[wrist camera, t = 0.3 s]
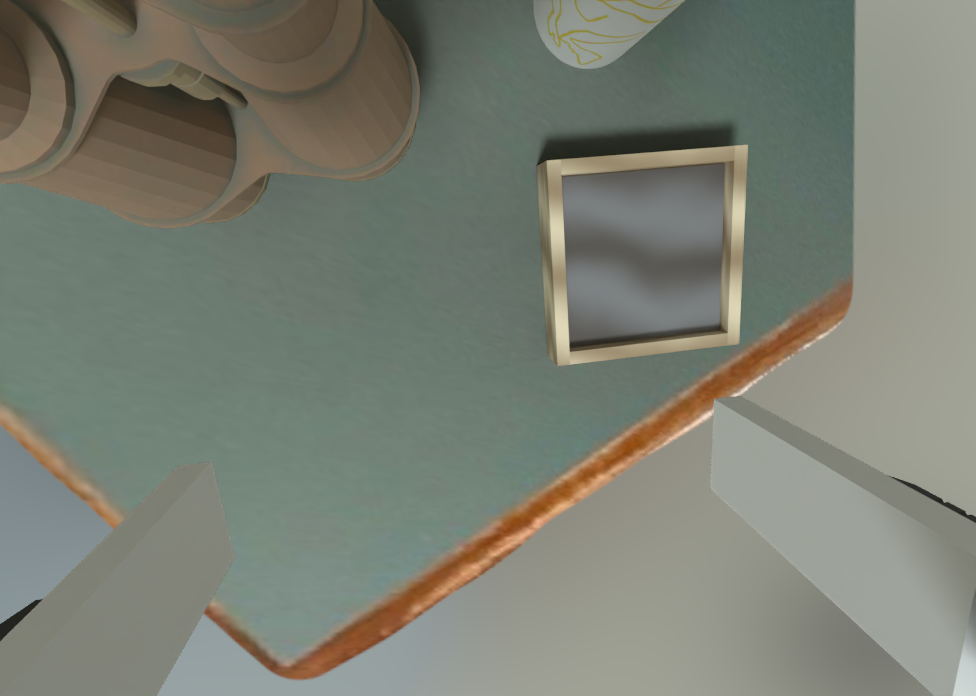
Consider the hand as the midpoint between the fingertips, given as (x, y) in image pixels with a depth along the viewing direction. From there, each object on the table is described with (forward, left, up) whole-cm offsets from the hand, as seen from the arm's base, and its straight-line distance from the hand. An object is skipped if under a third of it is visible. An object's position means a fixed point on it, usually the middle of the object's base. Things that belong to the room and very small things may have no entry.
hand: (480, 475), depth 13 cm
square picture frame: (-3, +16, -27) cm, 31 cm away
